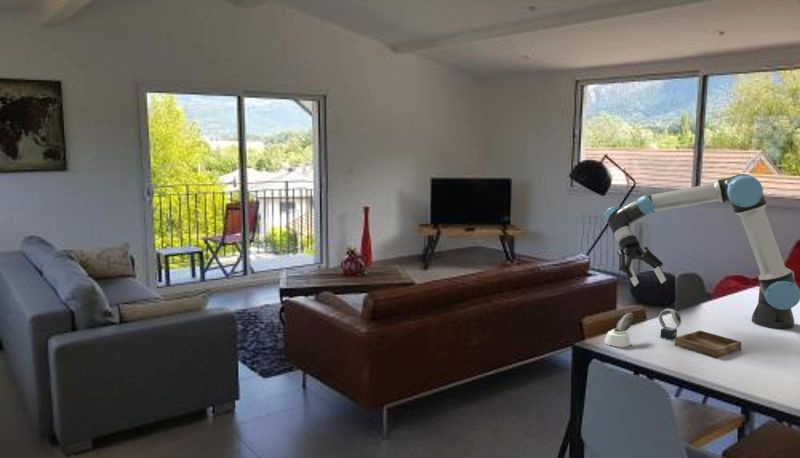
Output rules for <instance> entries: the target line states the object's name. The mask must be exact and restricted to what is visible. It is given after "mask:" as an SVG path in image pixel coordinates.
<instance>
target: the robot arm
mask: <svg viewBox="0 0 800 458" xmlns="http://www.w3.org/2000/svg"><path fill="white" fill-rule="evenodd" d="M763 189H764V188H763V185H762V183H761V182H760V181H759V180H758V179H757V178H756V177H754V176H752V175H750V174H747V173H746V174H745V173H740V174H736V175H732V176H730V177H726V178H720V179H717V180H716V181H715V182H714V183H708V184H703V185H697V186H692V187H686V188H682V189H675V190H671V191H665V192H661V193H655V194H650V195H646V194H645V195H639V196H636V197H635V198H633V199H632V201H631V202H630V203H628V204H627V205H625V206H623V207H621V206H618V205H614V206H611V207H609V208H608V209H607V210H605V211H604V218H605V220H606V223H607V224H608V226H609V228H610V231H611V232H612V233H613V235H614V238H615V240H616V242H617V243H618V245H619V247H620V248H619V250H618V251H617V254H618V265H619V266H618V267H619V269H618V270H619V271H621V272H622V273H624V274H626V276H627V278H629V280H630V281H631V283H632V285H633V287H636V286H637V285H638V284H639V283H640V282H639V280H638V277H637V275H636V273H635V272H634V270H633V268H631V265H632V260H640V261H643V262H644V263H646V264H647V265H648V266H650V267H652V268H653V271H654V273H655V275H656V277H657V279H658V281H659V282H660V284H664V283H665V282H666V281H667V279H666V277H665V274H664V271H663V269H662V268H661V267H662V266H663V265H664V263H663V262H662V260H660V259H659V258H658V257H657V256H656V255H655V254H654V253H653V252H652V251H651V250H650V249H649V247H648V246H645V247H644V248H643V247H641V245H640V241H639V239H638V237H637V236H636V234H635V232H634V230H633V229H632V226H631V224H632V223H634V222H636V221H638V220H639V219H641V218H643V217H646V216H647V215H650V214H651V213H655V212H661V211H668V210H673V209H677V208H679V209H680V208H684V207H685V208H686V207H690V206H697V205H702V204H707V203H713V202H720V203H721V204H723V203H727V202H729V203H730V204H731V207H732V210H733V212H734V215H737V216H739V217H740V220H741V223H742V225H743V227H744V230H745V234H746V236H747V239H748V242H749V244H750V247H751V250H752V253H753V255H754V259H755V260H756V261H755V262H756V263H757V266H758V269H759V272H760V274H759V276H758V281H759V287H758V288H759V289H758V301H757V305H756V307H755V308H754V311H753V313H752V314H751V315H752V316H751V322H752V323H753V324H756V325H758V326H761V327H766V328H772V329H785V330H787V329H793V328H794V326H795V318H794V314H793V311H792V308H794V307H795V306H797V304H798V303H799V302H800V288H799V286H798V285H797V282H796V279H795V272H794V271H793V270H791V269H790V268H788V267H786V265H785V263H784V260H783V258H782V255H781V252H780V249H779V245H778V244H777V241H776V238H775V235H774V233H773V230H772V228H771V224H770V221H769V219H768V216H767V214H766V210H765V209H766V207H767V204H768V203H767V200H766V197H765V195H764V190H763Z"/></svg>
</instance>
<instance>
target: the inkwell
mask: <svg viewBox="0 0 800 458" xmlns="http://www.w3.org/2000/svg"><path fill="white" fill-rule="evenodd" d="M633 318H634V313H632V312H627V313H625V314H624V315H623V316H622V317H621V318H620V319H619V320H618V321H617V323H616V327H615V328H612V329H611V330H609V331H607V334H606V336H605V339H604V341H603V342H604V343H605V345H607V344H608V346H610V345H612V346H611V347H614V346H617V347H616V348H627V346H628V347H630V346H629V345H631V341H630V337H629V334H628V332H626V331H628V330H629V329H630V328H631V325H632V322H633V320H634V319H633Z"/></svg>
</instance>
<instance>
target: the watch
mask: <svg viewBox="0 0 800 458" xmlns="http://www.w3.org/2000/svg"><path fill="white" fill-rule="evenodd" d="M666 311H667V312H670V315H671V318H672V319H673V321H674V323H675V324H676V327H670V326H666V323H665V321H664V318H663V315H662V314H663V313H664V312H666ZM658 321H659V324H660V326H661V329H660V335H659V336H660V337H659V338H661V339H664V338H666V339H665V340H669V339H671V340H670V341H673V340H675V338H676V336H677V337H678V335H677V333H678V328H679V327H680V325H681V323H682V318H681V315H680V313H679V312H678V311H677V310H675V309H673V308H665V309H664V310H662V311H661V312H659V314H658ZM672 339H673V340H672Z"/></svg>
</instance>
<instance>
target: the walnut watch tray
mask: <svg viewBox="0 0 800 458" xmlns="http://www.w3.org/2000/svg"><path fill="white" fill-rule="evenodd" d="M742 343H743V342H742V341H740V340H737V339H733V338H729V337H726V336H721V335H718V334H715V333H710V332H707V331H704V330H699V329H698V330H696V331H693V332H691V333H685V334H684V335H680V336H677V337H675V338H674V346H675V345H676V346H675V347H678V346H679V347H678V348H681V347H682V349H684V348H685V350H687V349H688V351H691V350H692V351H691V352H694V351H695V352H694V353H697V352H698V353H697V354H700V353H701V355H703V356H707V357H710V356H711V358H713V357H714V358H713V359H719V358H721V356H722V357H724V355H725V356H727V355H730V354H733V353H735V352H739V351H741V349H742ZM726 354H727V355H726ZM718 357H719V358H718Z"/></svg>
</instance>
